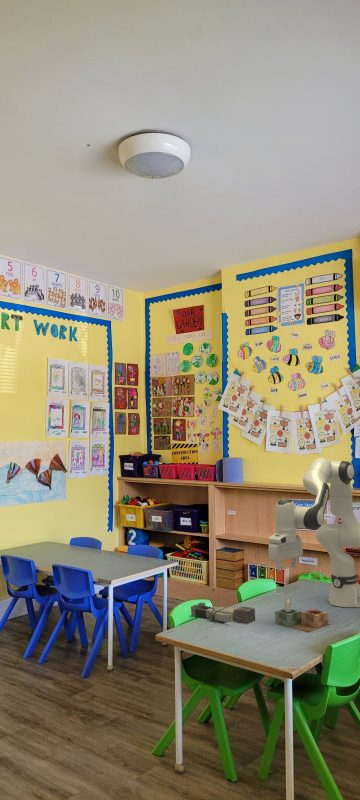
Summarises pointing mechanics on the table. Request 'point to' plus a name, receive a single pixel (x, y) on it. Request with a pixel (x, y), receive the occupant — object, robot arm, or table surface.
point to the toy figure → (224, 613)
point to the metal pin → (287, 605)
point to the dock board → (302, 619)
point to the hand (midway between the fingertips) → (286, 568)
